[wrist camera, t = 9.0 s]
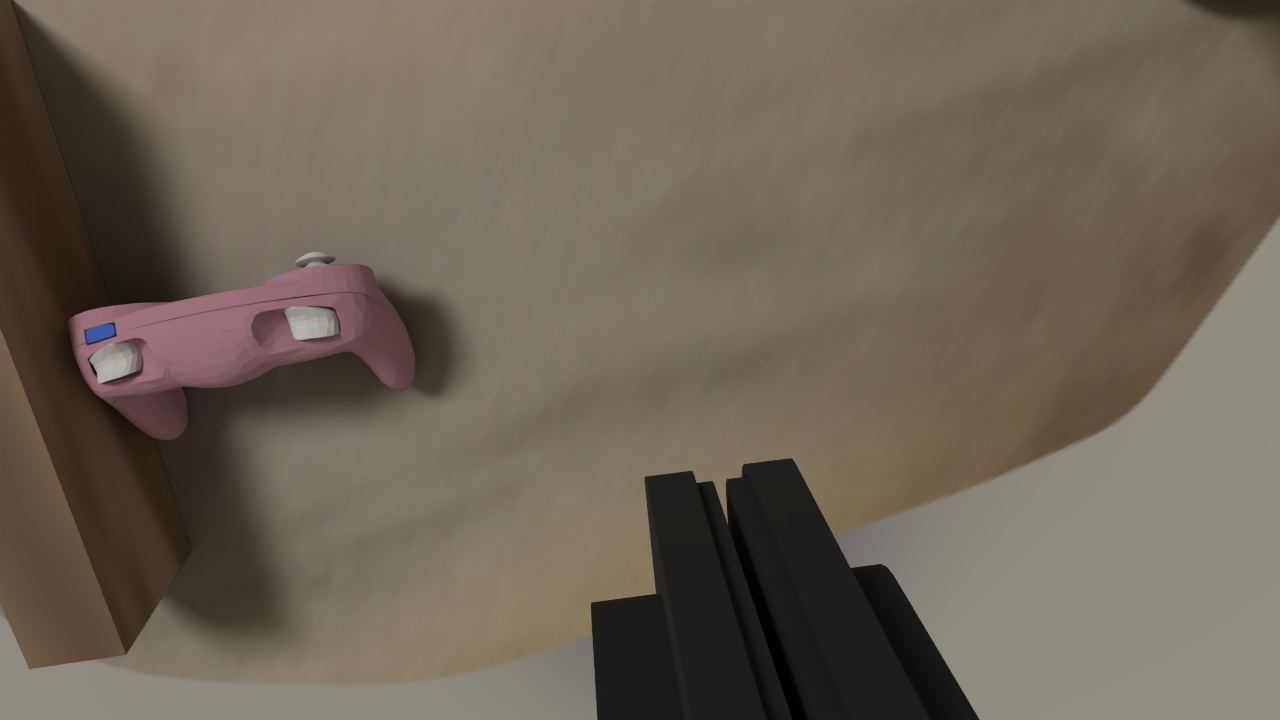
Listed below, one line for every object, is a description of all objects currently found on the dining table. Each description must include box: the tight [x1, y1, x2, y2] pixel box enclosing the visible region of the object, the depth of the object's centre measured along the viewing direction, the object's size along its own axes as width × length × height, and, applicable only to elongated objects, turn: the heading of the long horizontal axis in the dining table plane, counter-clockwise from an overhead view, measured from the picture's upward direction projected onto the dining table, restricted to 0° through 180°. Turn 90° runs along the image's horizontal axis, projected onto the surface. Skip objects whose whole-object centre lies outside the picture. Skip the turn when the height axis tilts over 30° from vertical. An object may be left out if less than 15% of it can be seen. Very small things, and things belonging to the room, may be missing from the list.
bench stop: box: [0, 0, 192, 669], centre depth 27 cm, size 3×20×6 cm, turn 5°
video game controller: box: [67, 252, 416, 440], centre depth 28 cm, size 10×5×7 cm, turn 100°
